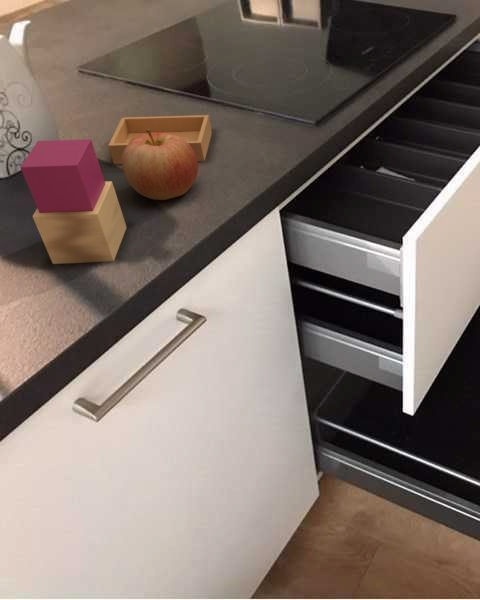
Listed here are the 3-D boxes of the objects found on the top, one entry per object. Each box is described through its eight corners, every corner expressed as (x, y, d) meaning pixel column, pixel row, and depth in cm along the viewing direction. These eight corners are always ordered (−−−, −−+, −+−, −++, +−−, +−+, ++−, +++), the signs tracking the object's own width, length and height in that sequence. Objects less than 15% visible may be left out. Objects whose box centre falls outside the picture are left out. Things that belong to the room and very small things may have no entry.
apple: (116, 197, 76) (96, 133, 70) (170, 168, 81) (155, 107, 75) (162, 220, 72) (144, 155, 67) (216, 189, 77) (203, 126, 72)
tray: (114, 165, 81) (107, 145, 79) (127, 137, 86) (121, 117, 85) (205, 162, 82) (200, 142, 80) (212, 134, 87) (208, 114, 86)
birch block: (53, 265, 66) (32, 216, 62) (70, 231, 71) (51, 183, 67) (114, 263, 67) (97, 213, 63) (127, 228, 71) (112, 180, 67)
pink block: (39, 213, 63) (19, 167, 59) (55, 185, 66) (37, 140, 63) (93, 211, 63) (76, 165, 60) (105, 183, 67) (91, 138, 63)
